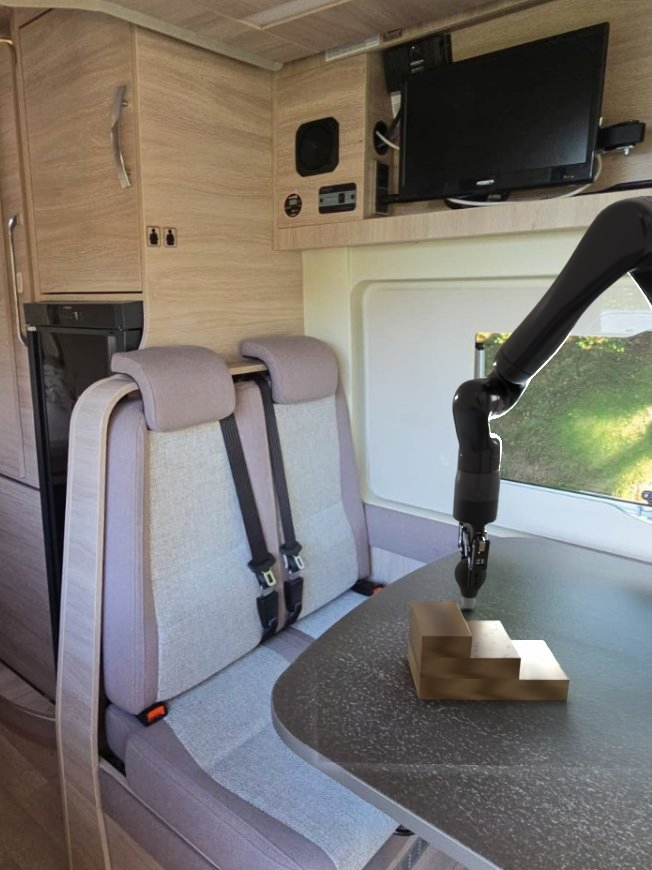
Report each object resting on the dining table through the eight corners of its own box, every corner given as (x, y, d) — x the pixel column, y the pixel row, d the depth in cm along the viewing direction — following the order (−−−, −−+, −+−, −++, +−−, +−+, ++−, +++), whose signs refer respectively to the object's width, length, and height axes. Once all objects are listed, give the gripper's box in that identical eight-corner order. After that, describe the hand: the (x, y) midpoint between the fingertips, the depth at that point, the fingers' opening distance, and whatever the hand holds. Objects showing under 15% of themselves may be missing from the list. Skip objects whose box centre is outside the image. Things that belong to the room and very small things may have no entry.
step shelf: (541, 659, 115) (548, 600, 112) (566, 701, 104) (575, 636, 100) (407, 659, 118) (410, 600, 114) (418, 699, 106) (422, 636, 103)
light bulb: (466, 617, 130) (470, 566, 127) (445, 606, 135) (448, 556, 132) (490, 611, 132) (494, 560, 129) (469, 599, 137) (472, 551, 134)
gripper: (509, 505, 119) (501, 597, 125) (488, 481, 132) (481, 566, 138) (462, 506, 120) (456, 597, 126) (446, 482, 133) (441, 566, 139)
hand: (469, 581), depth 132 cm, fingers open, 6 cm apart
